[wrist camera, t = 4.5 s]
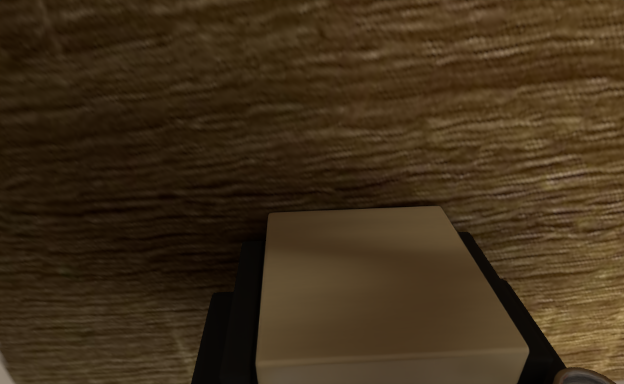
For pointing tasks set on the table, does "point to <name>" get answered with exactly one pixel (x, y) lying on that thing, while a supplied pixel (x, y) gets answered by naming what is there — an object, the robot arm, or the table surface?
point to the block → (379, 303)
